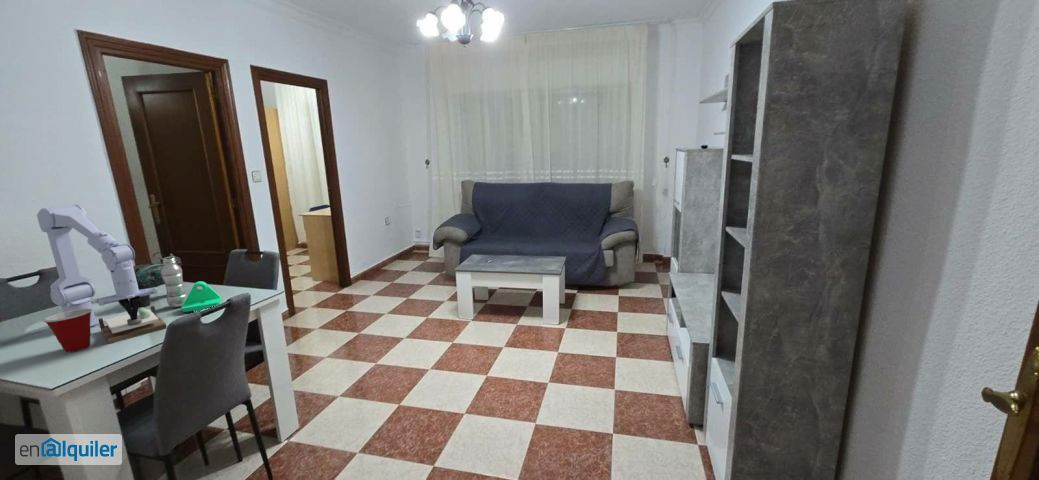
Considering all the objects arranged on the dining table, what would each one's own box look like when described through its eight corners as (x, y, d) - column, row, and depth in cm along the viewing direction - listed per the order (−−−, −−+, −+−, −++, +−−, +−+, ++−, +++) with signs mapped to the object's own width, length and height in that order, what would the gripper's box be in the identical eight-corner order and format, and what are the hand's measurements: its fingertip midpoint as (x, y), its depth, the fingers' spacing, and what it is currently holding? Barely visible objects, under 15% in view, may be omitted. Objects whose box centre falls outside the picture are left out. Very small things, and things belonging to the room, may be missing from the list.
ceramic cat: (180, 291, 187) (170, 247, 182) (192, 291, 185) (183, 248, 181) (131, 308, 168) (120, 259, 163) (144, 309, 166) (133, 260, 162)
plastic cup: (94, 337, 142) (85, 304, 139) (106, 344, 137) (97, 310, 134) (48, 351, 133) (37, 315, 130) (58, 359, 128) (48, 322, 125)
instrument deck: (105, 321, 147) (102, 312, 146) (149, 311, 156) (147, 302, 155) (112, 333, 138) (110, 324, 137) (159, 321, 147) (157, 312, 146)
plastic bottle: (192, 305, 170) (182, 257, 165) (172, 310, 164) (161, 261, 160) (185, 302, 173) (176, 255, 169) (165, 307, 168) (155, 259, 163)
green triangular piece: (182, 315, 160) (176, 289, 158) (185, 308, 167) (180, 284, 164) (220, 308, 166) (215, 284, 164) (222, 302, 173) (217, 278, 170)
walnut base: (101, 331, 147) (97, 318, 146) (156, 317, 158) (153, 305, 157) (108, 343, 137) (105, 330, 136) (166, 328, 149) (164, 315, 147)
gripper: (96, 289, 132) (107, 329, 135) (155, 277, 143) (164, 314, 146) (93, 285, 136) (103, 323, 140) (150, 274, 147) (159, 310, 151)
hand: (134, 319), depth 143 cm, fingers closed, pressing on instrument deck
